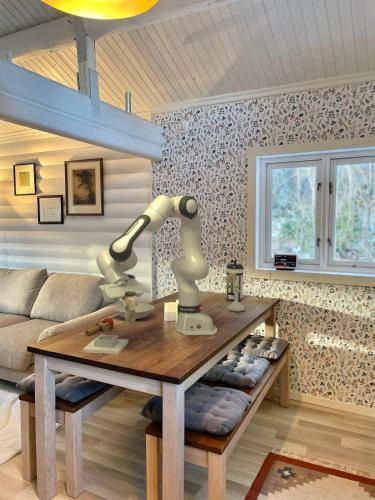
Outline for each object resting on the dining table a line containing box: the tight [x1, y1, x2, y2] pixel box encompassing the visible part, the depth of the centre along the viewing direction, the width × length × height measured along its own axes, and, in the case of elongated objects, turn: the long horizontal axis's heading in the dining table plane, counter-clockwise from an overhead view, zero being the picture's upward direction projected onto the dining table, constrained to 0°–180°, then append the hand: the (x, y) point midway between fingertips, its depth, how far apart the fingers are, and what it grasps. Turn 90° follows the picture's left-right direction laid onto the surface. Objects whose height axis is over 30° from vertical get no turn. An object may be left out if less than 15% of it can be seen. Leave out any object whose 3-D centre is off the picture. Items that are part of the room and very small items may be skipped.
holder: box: [82, 334, 129, 355], centre depth 171 cm, size 16×16×4 cm
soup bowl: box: [113, 302, 155, 320], centre depth 224 cm, size 24×24×7 cm
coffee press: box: [225, 259, 245, 303], centre depth 277 cm, size 17×16×30 cm
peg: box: [124, 292, 136, 325], centre depth 164 cm, size 5×5×13 cm
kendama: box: [84, 317, 114, 337], centre depth 196 cm, size 8×6×18 cm
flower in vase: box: [225, 273, 246, 313], centre depth 245 cm, size 13×11×25 cm
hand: (131, 306), depth 164 cm, fingers closed on peg, 4 cm apart
